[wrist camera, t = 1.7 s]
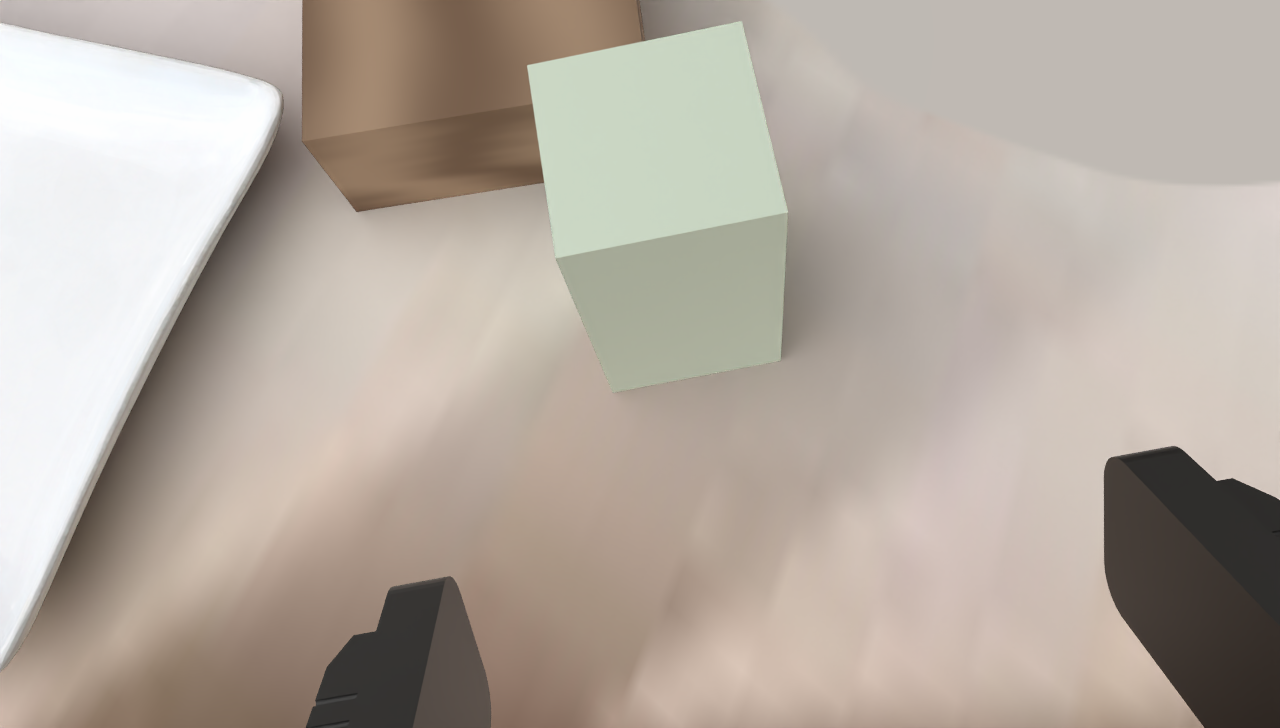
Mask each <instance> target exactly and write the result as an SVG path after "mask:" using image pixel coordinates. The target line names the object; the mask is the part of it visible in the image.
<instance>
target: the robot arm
mask: <svg viewBox="0 0 1280 728" xmlns="http://www.w3.org/2000/svg"><path fill="white" fill-rule="evenodd" d="M1104 564H1105V574H1106V579H1107V583H1108V587H1109V590H1110V593H1111V596H1112V598H1113V601H1114V603H1115V605H1116V607H1117V609H1118V611H1119V613H1120V614H1121V616H1122V617H1123V619H1124V620H1125V622H1126V623H1127V624H1128V626H1129V627H1130V628H1131V630H1132V631H1133V632H1134V634H1135V635H1136V636H1137V638H1138V639H1139V640H1140V642H1141V643H1142V644H1143V646H1144V647H1145V648H1146V650H1147V651H1148V652H1149V654H1150V655H1151V656H1152V658H1153V659H1154V661H1155V662H1156V663H1157V665H1158V666H1159V667H1160V669H1161V670H1162V671H1163V673H1164V674H1165V675H1166V677H1167V678H1168V679H1169V681H1170V682H1171V683H1172V685H1173V686H1174V687H1175V689H1176V690H1177V691H1178V693H1179V694H1180V695H1181V697H1182V698H1183V699H1184V701H1185V702H1186V704H1187V705H1188V706H1189V708H1190V709H1191V710H1192V712H1193V713H1194V714H1195V716H1196V717H1197V718H1198V720H1199V721H1200V722H1201V724H1202V725H1203V726H1204V728H1280V500H1278V499H1277V498H1275V497H1273V496H1271V495H1269V494H1266V493H1264V492H1262V491H1260V490H1257V489H1255V488H1253V487H1251V486H1249V485H1246V484H1244V483H1242V482H1240V481H1237V480H1235V479H1233V478H1231V479H1226V480H1220V481H1216V480H1215V479H1214V478H1212V477H1211V476H1210V475H1209V474H1208V473H1207V472H1206V471H1205V470H1204V469H1203V468H1202V467H1201V466H1199V465H1198V464H1197V463H1196V462H1195V461H1194V460H1193V459H1192V458H1191V457H1190V456H1189V455H1188V454H1186V453H1185V452H1184V451H1183V450H1182V449H1180V448H1178V447H1176V446H1171V447H1165V448H1160V449H1154V450H1149V451H1143V452H1138V453H1132V454H1127V455H1121V456H1116V457H1111V458H1110V459H1108V461H1107V463H1106V466H1105V470H1104ZM315 701H316V706H315V707H313V708H312V711H311V714H310V717H309V720H308V723H307V725H306V728H491V702H490V693H489V687H488V681H487V677H486V673H485V670H484V666H483V663H482V660H481V657H480V654H479V651H478V647H477V644H476V641H475V638H474V635H473V632H472V629H471V625H470V622H469V619H468V616H467V613H466V610H465V606H464V603H463V600H462V597H461V594H460V591H459V588H458V586H457V584H456V582H455V580H454V579H453V578H452V577H451V576H449V577H443V578H438V579H432V580H427V581H421V582H416V583H410V584H405V585H399V586H394V587H392V588H390V590H389V591H388V594H387V597H386V600H385V604H384V607H383V610H382V614H381V617H380V620H379V624H378V627H377V630H376V631H375V632H370V633H364V634H359V635H354V636H353V637H352V638H351V639H350V640H349V641H348V643H347V644H346V645H345V646H344V647H343V649H342V650H341V651H340V652H339V653H338V655H337V656H336V657H335V658H334V659H333V661H332V662H331V663H330V664H329V665H328V666H327V668H326V671H325V674H324V677H323V680H322V683H321V685H320V688H319V691H318V694H317V697H316V700H315Z"/></svg>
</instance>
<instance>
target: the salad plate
mask: <svg viewBox="0 0 1280 728" xmlns="http://www.w3.org/2000/svg"><path fill="white" fill-rule="evenodd" d="M282 113H283V96H282V93H281V91H280V90H279V89H278V88H276V87H275V86H274V85H272V84H270V83H268V82H265V81H263V80H260V79H257V78H253V77H250V76H247V75H243V74H240V73H236V72H232V71H228V70H224V69H220V68H216V67H211V66H207V65H203V64H198V63H193V62H188V61H183V60H179V59H174V58H169V57H164V56H159V55H154V54H149V53H145V52H140V51H135V50H130V49H125V48H120V47H116V46H111V45H105V44H100V43H94V42H90V41H86V40H81V39H75V38H70V37H66V36H61V35H56V34H51V33H46V32H42V31H37V30H32V29H27V28H23V27H18V26H14V25H9V24H5V23H0V672H1V671H2V670H3V669H4V668H5V667H6V666H7V665H8V664H9V662H10V661H11V660H12V658H13V657H14V656H15V654H16V653H17V652H18V650H19V649H20V647H21V645H22V644H23V642H24V640H25V638H26V637H27V635H28V633H29V631H30V629H31V627H32V625H33V623H34V621H35V619H36V617H37V615H38V613H39V610H40V608H41V606H42V604H43V601H44V599H45V597H46V595H47V593H48V590H49V588H50V586H51V584H52V581H53V579H54V577H55V575H56V572H57V570H58V568H59V565H60V563H61V561H62V559H63V556H64V554H65V552H66V550H67V547H68V545H69V543H70V540H71V538H72V536H73V534H74V531H75V529H76V527H77V525H78V523H79V520H80V518H81V516H82V514H83V511H84V509H85V507H86V505H87V503H88V500H89V498H90V496H91V494H92V491H93V489H94V487H95V485H96V483H97V481H98V478H99V476H100V474H101V472H102V470H103V468H104V466H105V464H106V461H107V459H108V457H109V455H110V453H111V451H112V449H113V447H114V445H115V442H116V440H117V438H118V436H119V434H120V432H121V430H122V428H123V426H124V424H125V422H126V420H127V418H128V416H129V414H130V412H131V410H132V408H133V405H134V403H135V401H136V399H137V397H138V395H139V393H140V391H141V389H142V387H143V385H144V383H145V381H146V379H147V377H148V375H149V373H150V371H151V369H152V367H153V365H154V363H155V361H156V359H157V357H158V355H159V353H160V351H161V349H162V347H163V345H164V343H165V341H166V339H167V337H168V335H169V333H170V331H171V330H172V328H173V326H174V324H175V322H176V320H177V318H178V316H179V314H180V312H181V310H182V308H183V306H184V304H185V303H186V301H187V299H188V297H189V295H190V293H191V291H192V289H193V287H194V285H195V284H196V282H197V280H198V278H199V276H200V274H201V272H202V271H203V269H204V267H205V265H206V263H207V261H208V259H209V258H210V256H211V254H212V252H213V250H214V248H215V247H216V245H217V243H218V241H219V239H220V237H221V235H222V234H223V232H224V230H225V228H226V226H227V225H228V223H229V221H230V220H231V218H232V216H233V214H234V213H235V211H236V209H237V208H238V206H239V204H240V202H241V201H242V199H243V197H244V196H245V194H246V192H247V190H248V189H249V187H250V185H251V183H252V182H253V180H254V178H255V177H256V175H257V173H258V171H259V170H260V168H261V166H262V164H263V162H264V160H265V158H266V156H267V154H268V152H269V150H270V148H271V146H272V144H273V141H274V139H275V137H276V134H277V132H278V128H279V125H280V122H281V118H282Z"/></svg>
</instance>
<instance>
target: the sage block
mask: <svg viewBox="0 0 1280 728" xmlns="http://www.w3.org/2000/svg"><path fill="white" fill-rule="evenodd" d="M527 69H528V75H529V82H530V89H531V96H532V103H533V109H534V116H535V123H536V130H537V137H538V143H539V150H540V157H541V164H542V170H543V177H544V184H545V191H546V198H547V204H548V211H549V218H550V225H551V232H552V238H553V245H554V252H555V258H556V261H557V263H558V265H559V268H560V270H561V272H562V275H563V277H564V279H565V282H566V284H567V287H568V289H569V291H570V294H571V296H572V298H573V301H574V303H575V305H576V308H577V310H578V312H579V315H580V317H581V319H582V322H583V324H584V326H585V329H586V331H587V333H588V336H589V338H590V340H591V343H592V345H593V347H594V350H595V352H596V354H597V357H598V359H599V361H600V364H601V366H602V368H603V371H604V373H605V375H606V378H607V380H608V382H609V385H610V387H611V390H612V392H613V393H615V392H620V391H625V390H631V389H636V388H641V387H646V386H652V385H657V384H662V383H668V382H673V381H678V380H683V379H689V378H694V377H699V376H704V375H710V374H715V373H720V372H725V371H731V370H736V369H741V368H746V367H752V366H757V365H762V364H767V363H773V362H778V361H781V345H782V325H783V305H784V285H785V265H786V245H787V225H788V210H787V206H786V202H785V197H784V193H783V189H782V185H781V181H780V177H779V173H778V169H777V164H776V160H775V156H774V152H773V148H772V144H771V140H770V135H769V131H768V127H767V123H766V119H765V115H764V111H763V106H762V102H761V98H760V94H759V90H758V86H757V82H756V77H755V73H754V69H753V65H752V61H751V57H750V53H749V48H748V44H747V40H746V36H745V32H744V28H743V24H742V21H740V22H735V23H730V24H725V25H720V26H715V27H711V28H706V29H701V30H696V31H691V32H686V33H681V34H677V35H672V36H667V37H662V38H657V39H652V40H647V41H643V42H638V43H633V44H628V45H623V46H618V47H614V48H609V49H604V50H599V51H594V52H589V53H584V54H580V55H575V56H570V57H565V58H560V59H555V60H551V61H546V62H541V63H536V64H531V65H527Z"/></svg>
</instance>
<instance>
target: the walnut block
mask: <svg viewBox="0 0 1280 728" xmlns="http://www.w3.org/2000/svg"><path fill="white" fill-rule="evenodd" d="M643 41H645V38H644V31H643V23H642V16H641V9H640V1H639V0H303V7H302V142H303V143H304V145H305V146H306V147H307V148H308V150H309V151H310V152H311V154H312V155H313V156H314V157H315V159H316V160H317V161H318V163H319V164H320V165H321V166H322V168H323V169H324V170H325V172H326V173H327V174H328V175H329V177H330V178H331V179H332V181H333V182H334V183H335V185H336V186H337V187H338V188H339V190H340V191H341V192H342V194H343V195H344V196H345V197H346V199H347V200H348V201H349V203H350V204H351V205H352V206H353V208H354V209H355V210H356V212H359V211H365V210H372V209H378V208H384V207H391V206H397V205H404V204H410V203H416V202H423V201H429V200H436V199H442V198H448V197H455V196H461V195H468V194H474V193H480V192H487V191H493V190H500V189H506V188H512V187H519V186H525V185H532V184H538V183H544V177H543V170H542V164H541V157H540V150H539V143H538V137H537V130H536V123H535V116H534V109H533V103H532V96H531V89H530V82H529V75H528V69H527V65H531V64H536V63H541V62H546V61H551V60H555V59H560V58H565V57H570V56H575V55H580V54H584V53H589V52H594V51H599V50H604V49H609V48H614V47H618V46H623V45H628V44H633V43H638V42H643Z"/></svg>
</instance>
